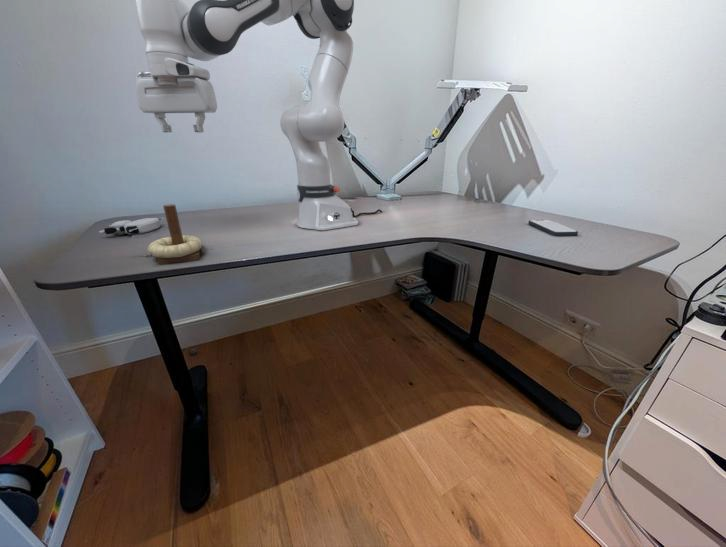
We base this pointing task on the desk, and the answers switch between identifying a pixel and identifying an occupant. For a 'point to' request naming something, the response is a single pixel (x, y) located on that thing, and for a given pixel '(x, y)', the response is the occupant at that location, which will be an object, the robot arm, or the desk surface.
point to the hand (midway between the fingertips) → (183, 132)
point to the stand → (176, 236)
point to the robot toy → (133, 226)
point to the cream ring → (174, 247)
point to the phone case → (553, 228)
